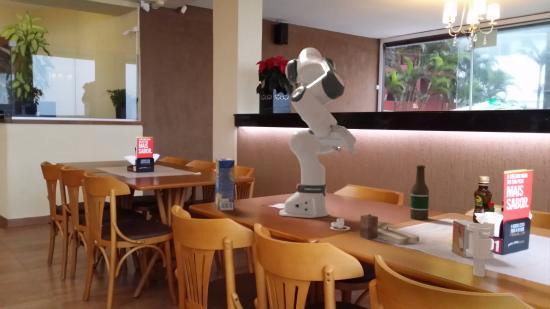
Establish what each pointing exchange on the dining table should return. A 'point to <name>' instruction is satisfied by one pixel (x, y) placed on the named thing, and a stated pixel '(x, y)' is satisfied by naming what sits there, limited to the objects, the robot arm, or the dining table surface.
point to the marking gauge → (371, 226)
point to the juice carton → (225, 184)
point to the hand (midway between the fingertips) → (346, 152)
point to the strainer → (480, 246)
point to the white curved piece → (339, 224)
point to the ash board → (397, 236)
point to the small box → (461, 237)
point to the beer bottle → (419, 196)
